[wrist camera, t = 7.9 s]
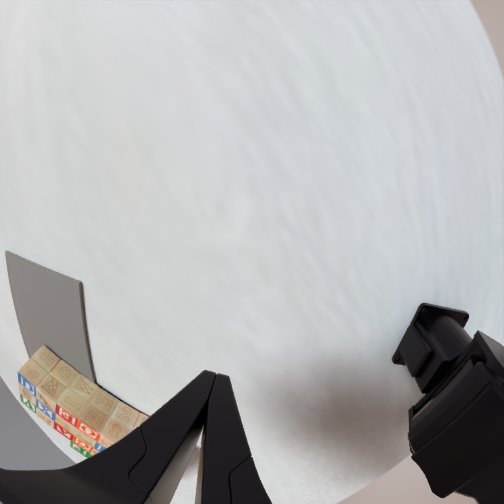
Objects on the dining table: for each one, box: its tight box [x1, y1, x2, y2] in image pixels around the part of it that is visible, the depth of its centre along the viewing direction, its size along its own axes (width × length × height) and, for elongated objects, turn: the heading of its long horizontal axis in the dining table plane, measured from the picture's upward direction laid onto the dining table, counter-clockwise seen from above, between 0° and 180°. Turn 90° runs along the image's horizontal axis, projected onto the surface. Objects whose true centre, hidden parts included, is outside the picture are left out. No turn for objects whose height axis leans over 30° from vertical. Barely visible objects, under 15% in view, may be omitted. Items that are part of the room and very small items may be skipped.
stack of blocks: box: [18, 345, 149, 458], centre depth 27 cm, size 21×6×12 cm
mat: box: [5, 251, 96, 384], centre depth 28 cm, size 13×24×1 cm, turn 168°
